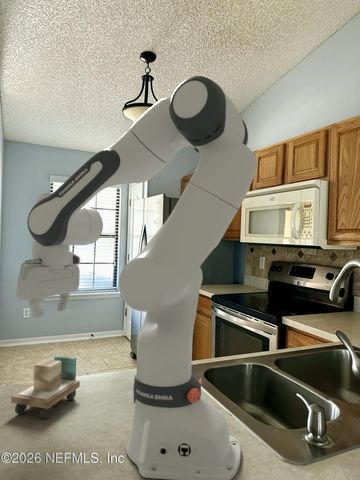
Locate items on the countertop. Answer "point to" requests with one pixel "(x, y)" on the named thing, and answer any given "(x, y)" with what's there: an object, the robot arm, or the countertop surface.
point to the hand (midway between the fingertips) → (50, 313)
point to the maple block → (47, 375)
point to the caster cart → (52, 397)
